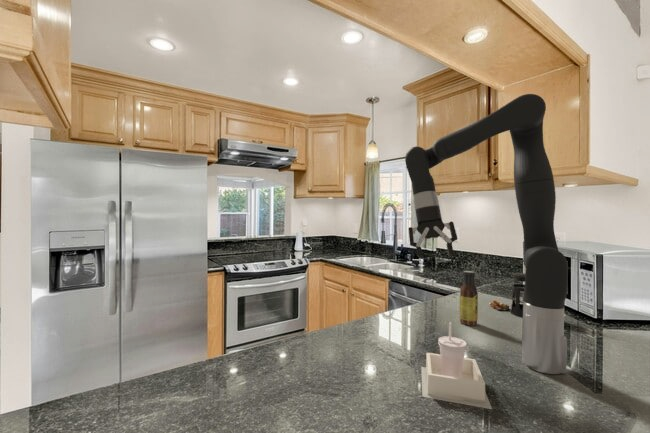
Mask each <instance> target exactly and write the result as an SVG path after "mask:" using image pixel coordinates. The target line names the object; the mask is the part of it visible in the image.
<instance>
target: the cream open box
mask: <svg viewBox="0 0 650 433" xmlns="http://www.w3.org/2000/svg"><path fill="white" fill-rule="evenodd" d="M425 357H426V360H425V361H426V362H425V365H426V366H425V367H426V375H427V390H428V395H434V396H439V397H445V398H450V399H456V400H461V401H467V402H473V403H478V404H484V405H485V392H486V382H485V380H484V378H483V375H482V373H481V370H480V368H479V365H478V363H477V360H476V359H474V358H468V357H464V360H463V366H462V373H461V378H457V377H451V376H444V375H442V365H441V355H440V353H432V352H426V356H425Z"/></svg>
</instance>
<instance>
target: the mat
mask: <svg viewBox="0 0 650 433" xmlns="http://www.w3.org/2000/svg"><path fill="white" fill-rule="evenodd" d="M420 370H421V371H420V372H421V394H422V395H421V397H422V398H428V399H433V400H438V401H443V402H449V403H456V404H462V405H467V406H471V407H478V408H484V409H488V410H492V409H493V407H492V405H491V402H490V400H489V398H488V394H487V393H486V391H485V405H484V404H478V403H473V402H467V401H461V400H456V399H450V398H445V397H439V396H434V395H428V390H427V375H426V366H421V367H420Z"/></svg>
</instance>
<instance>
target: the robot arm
mask: <svg viewBox="0 0 650 433" xmlns="http://www.w3.org/2000/svg"><path fill="white" fill-rule="evenodd" d="M546 108H547V106H546V102H545V100H544V99H543V98H542V96H540V95H538V94H535V93H527V94H526V93H525V94H522V95H520V96H518V97H516V98H514V99H513V100H511V101H510V102H507V104H505V105H503V106H501V107H499V109H497V110H495V111H493V112H492V113H490V114H488V115H487V116H484V117H482V118H481V119H479V120H477V121H475V122H473V123H470V124H468V125H467V126H465V127H462V128H460V129H457V130H456V131H453V132H451V133H449V134H447V135H444V136H442V137H440V138H437V139H436V140H434V143H433V145H432V146H430V147H428V148H427V149H425V148H423V147H421V146H416V145H415V146H412V147H411V148H409V149H408V150H407V152H406V153H405V157H404V158H405V159H404V162H405V166H406V170H407V174H408V176H409V179H410V182H411V189H412V196H413V205H414V209H415V210H414V211H415V215H416V216H415V218H416V223H417V227H411V226H410V227H408V237H409V245H410V246H411V247H415V248H416V253H417V254H416V255H417V257H418V258H419V259H420V260H423V259H424V256H423V251H422V247H421V245H422V244H423V242H424V239H427V240H430V239H437V238H439V237H440V239H442V240H443V241H445V243H446V250H447V254H448V257H449V256H452V254H454V247H453V242H456V241H457V240H458V235H457V231H456V227H455V224H454V222H453V221H449V222H445V223H444V222H443V218H442V214H441V213H442V212H441V209H440V208H441V207H440V204H439V203H440V202H439V196H438V195H437V191H436V186H435V181H434V178H433V176H432V175H431V171H430V169H432V168H434V167H436V166H437V165H439V164H441V163H442V162H444V161H446V160H448V159H450V158H453V157H455V156H458V155H460V154H463V153H465V152H467V151H469V150H471V149H473V148H474V147H476V146H478V145H480V144H481V143H483V142H485V141H486V140H489V139H490V138H492V137H494V136H497V135H499V134H502V133H505V132H508V131H509V133H510V138H511V141H512V146H513V153H514V154H513V155H514V158H513V181H514V182H513V184H514V191H515V199H516V204H517V210H518V213H519V218H520V221H521V225H522V230H523V231H522V232H523V260H524V262H523V265H525V290H524V292H523V297H524V298H523V303H522V304H523V317H522V333H521V334H522V337H521V338H522V341H521V343H522V344H521V347H522V348H521V361H522V363H523V364H525V365H526V366H527V368H529V369H530V370H532V371H533V370H534V371H537V372H539V373H543V374H547V375H559V374H565V375H566V374H567V354H568V353H567V351H568V338H567V336H565V334H564V332H565V331H564V330H565V329H564V328H565V303H566V299H567V294H568V283H569V282H568V279H569V278H568V277H569V265H568V260H567V258H566V256H565V255H564V254H563V253H562V252H561V251H560V250H559V248H558V242H557V239H556V235H555V229H554V227H555V226H554V223H555V222H554V221H555V214H556V201H557V200H556V199H557V198H556V197H557V196H556V187H555V180H554V179H555V178H554V174H553V170H552V166H551V162H550V160H549V157H548V155H547V153H546V152H547V151H546V149H545V145H544V119H545V114H546V111H547V110H546ZM445 228H446V229H447V230H449V231H450V235H451V237H449V236H448V235H447V234H446V233H444V232H443V230H444V229H445ZM416 231H417V232H418V233H419V234H420V237H419V239H418V240H417V242H415V241H414V235H415V234H416Z"/></svg>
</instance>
